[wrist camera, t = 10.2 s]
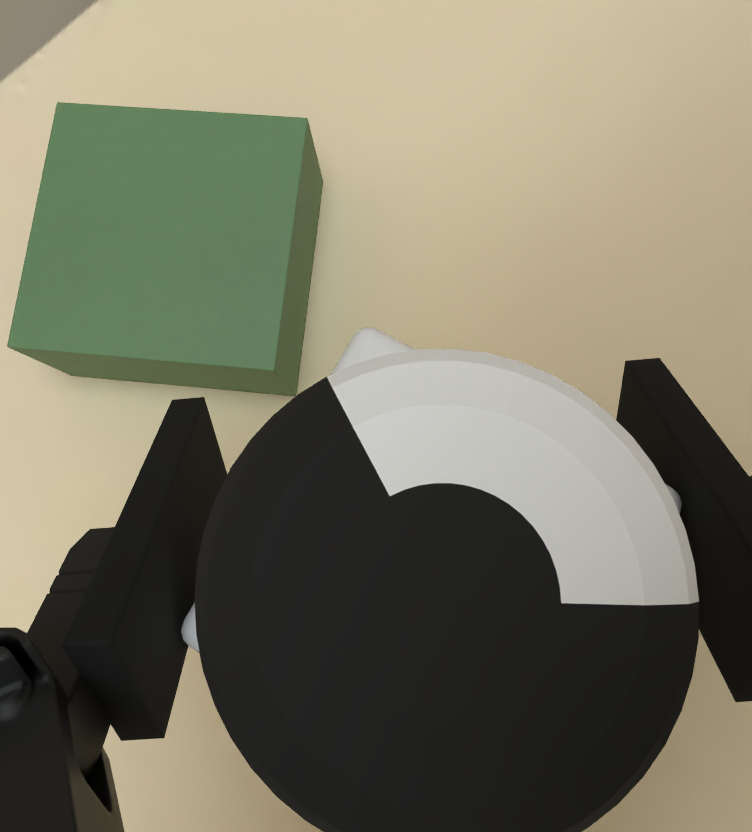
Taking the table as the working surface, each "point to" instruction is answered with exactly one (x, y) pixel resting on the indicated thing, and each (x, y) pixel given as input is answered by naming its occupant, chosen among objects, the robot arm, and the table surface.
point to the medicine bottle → (445, 598)
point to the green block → (172, 248)
